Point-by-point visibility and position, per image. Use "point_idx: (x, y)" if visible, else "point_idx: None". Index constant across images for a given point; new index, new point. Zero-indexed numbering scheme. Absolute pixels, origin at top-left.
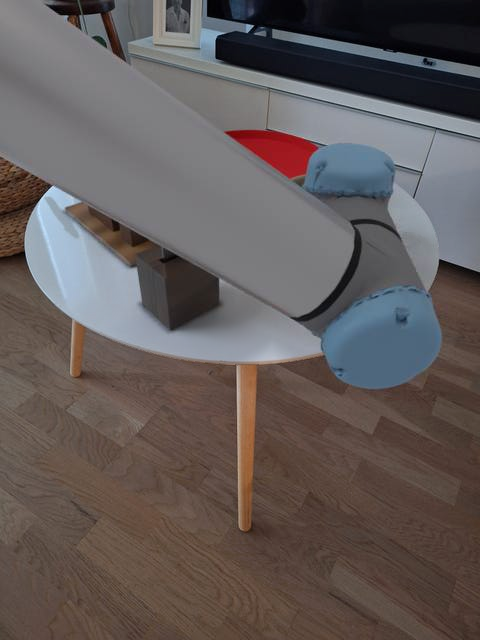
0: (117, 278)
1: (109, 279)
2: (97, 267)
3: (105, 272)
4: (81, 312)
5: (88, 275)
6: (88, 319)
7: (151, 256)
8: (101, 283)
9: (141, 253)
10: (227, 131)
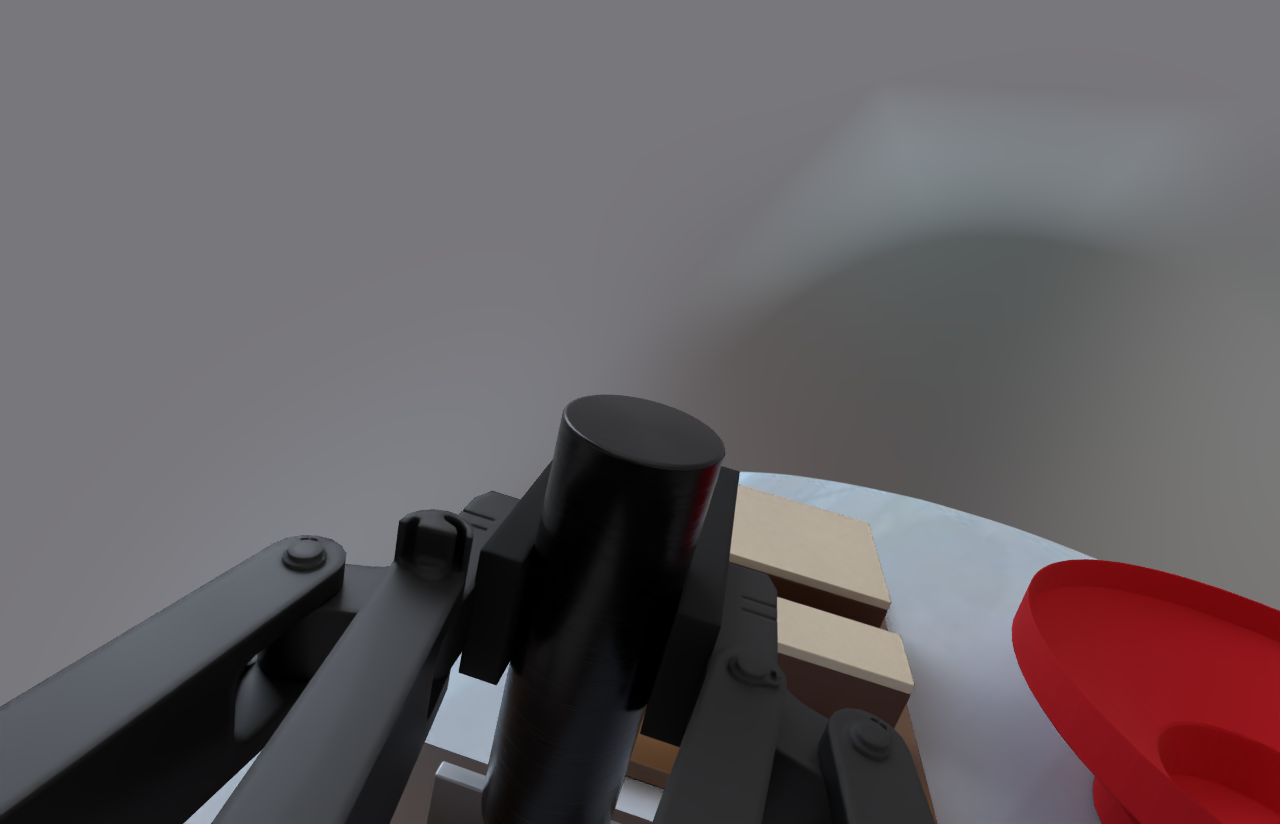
0: (488, 755)
1: (469, 736)
2: (506, 674)
3: (496, 706)
4: (246, 764)
5: (455, 674)
6: (207, 810)
7: (424, 812)
8: (436, 727)
9: (427, 755)
10: (1264, 606)
